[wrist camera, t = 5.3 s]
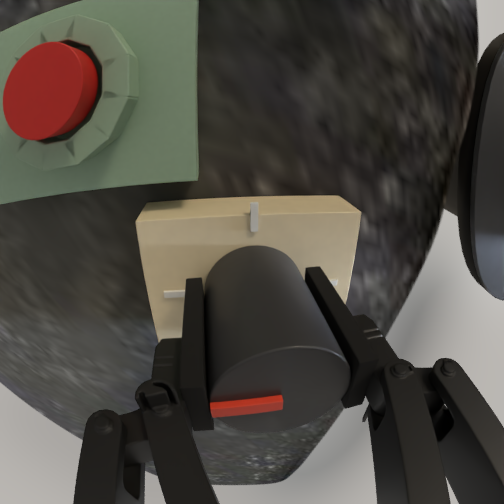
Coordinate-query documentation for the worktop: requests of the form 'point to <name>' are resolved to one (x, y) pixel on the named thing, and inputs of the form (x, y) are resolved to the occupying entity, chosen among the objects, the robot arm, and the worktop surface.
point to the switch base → (111, 99)
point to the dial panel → (239, 242)
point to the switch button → (49, 91)
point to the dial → (268, 345)
